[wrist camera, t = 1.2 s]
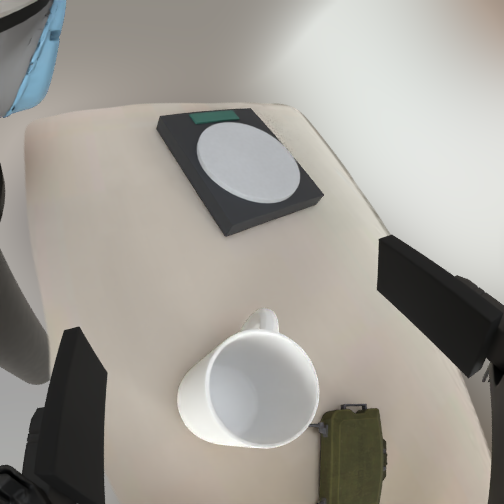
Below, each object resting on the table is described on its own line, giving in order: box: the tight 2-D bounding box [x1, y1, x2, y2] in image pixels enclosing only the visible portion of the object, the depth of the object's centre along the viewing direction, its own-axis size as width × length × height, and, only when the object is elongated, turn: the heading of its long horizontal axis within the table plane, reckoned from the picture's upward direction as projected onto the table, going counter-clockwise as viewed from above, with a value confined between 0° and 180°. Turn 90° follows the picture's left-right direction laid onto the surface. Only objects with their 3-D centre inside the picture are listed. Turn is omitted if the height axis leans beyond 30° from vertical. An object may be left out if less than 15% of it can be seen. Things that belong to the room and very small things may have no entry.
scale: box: [157, 108, 324, 236], centre depth 44 cm, size 20×17×3 cm
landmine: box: [308, 404, 387, 504], centre depth 26 cm, size 14×3×15 cm
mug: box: [177, 308, 319, 448], centre depth 25 cm, size 12×8×10 cm
